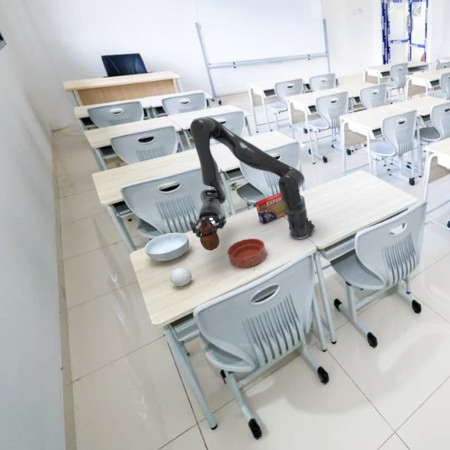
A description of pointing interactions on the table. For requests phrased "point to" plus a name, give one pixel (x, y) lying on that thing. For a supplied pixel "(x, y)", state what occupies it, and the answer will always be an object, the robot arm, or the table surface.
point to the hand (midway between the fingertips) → (206, 234)
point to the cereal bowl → (167, 246)
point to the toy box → (270, 208)
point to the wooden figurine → (208, 236)
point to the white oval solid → (180, 276)
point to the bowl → (246, 252)
